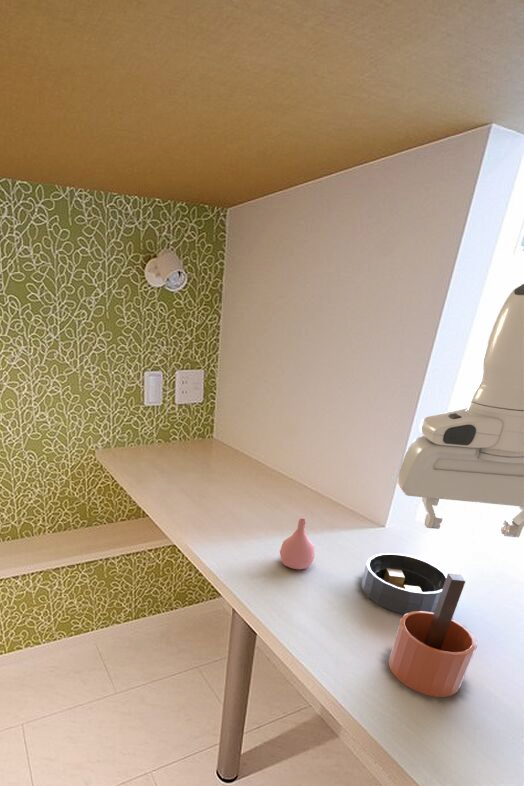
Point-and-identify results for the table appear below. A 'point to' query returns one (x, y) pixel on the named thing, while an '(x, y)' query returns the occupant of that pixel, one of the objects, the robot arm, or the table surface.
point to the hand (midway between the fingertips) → (469, 530)
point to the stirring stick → (444, 610)
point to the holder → (431, 656)
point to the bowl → (415, 575)
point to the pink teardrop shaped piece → (297, 549)
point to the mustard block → (412, 588)
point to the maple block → (394, 577)
